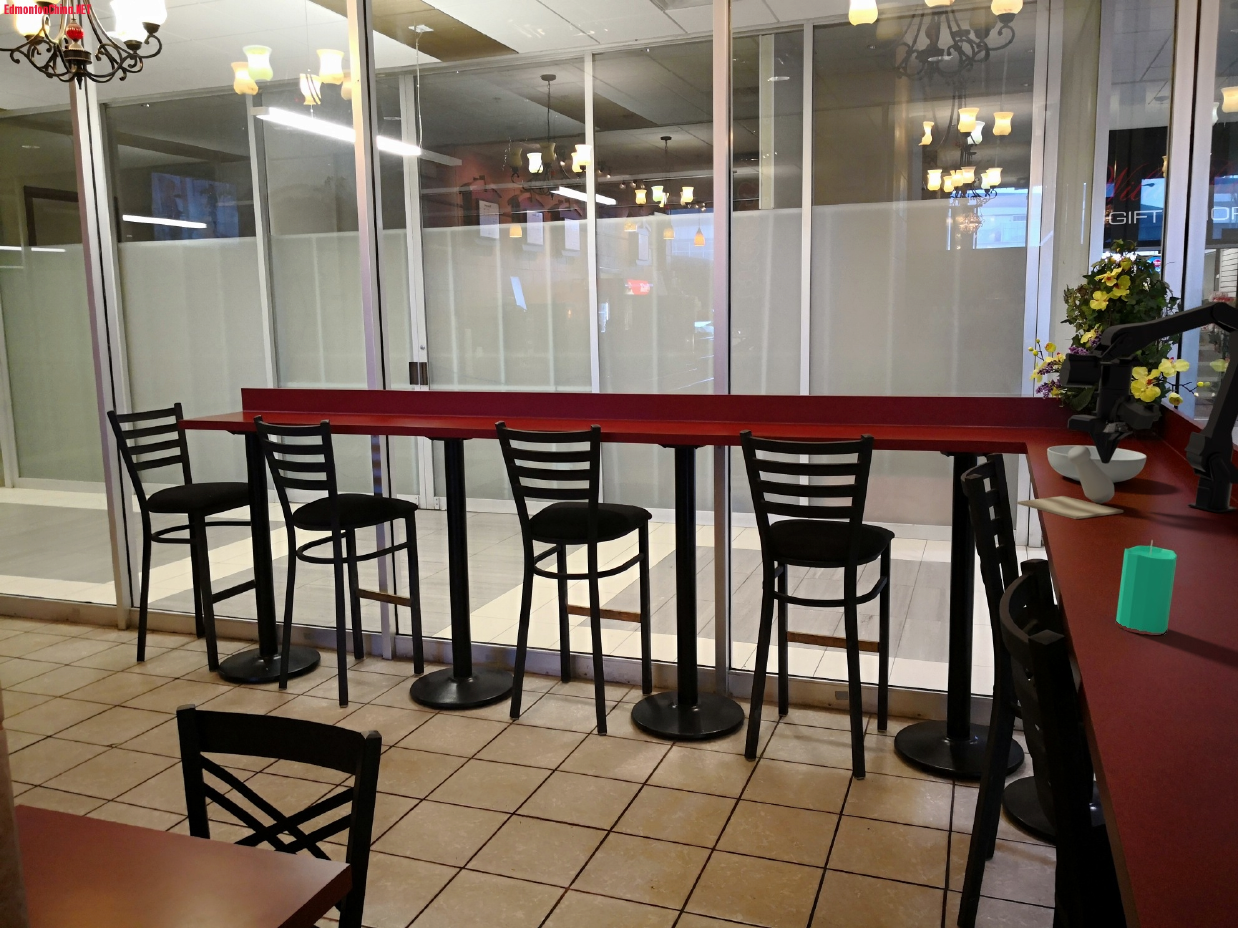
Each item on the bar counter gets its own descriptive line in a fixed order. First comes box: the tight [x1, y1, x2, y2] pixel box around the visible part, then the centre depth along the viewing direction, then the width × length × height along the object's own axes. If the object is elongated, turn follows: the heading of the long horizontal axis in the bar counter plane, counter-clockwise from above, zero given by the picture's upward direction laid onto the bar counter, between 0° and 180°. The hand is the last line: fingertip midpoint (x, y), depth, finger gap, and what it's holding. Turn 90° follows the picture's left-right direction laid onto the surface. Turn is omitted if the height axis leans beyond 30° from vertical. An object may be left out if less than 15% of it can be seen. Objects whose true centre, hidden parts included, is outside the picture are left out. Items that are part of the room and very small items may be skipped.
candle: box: [1115, 539, 1178, 633], centre depth 127 cm, size 6×6×12 cm
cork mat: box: [1016, 495, 1124, 520], centre depth 197 cm, size 14×14×1 cm
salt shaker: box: [1067, 445, 1115, 505], centre depth 199 cm, size 6×6×13 cm
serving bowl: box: [1046, 445, 1147, 484], centre depth 226 cm, size 21×21×7 cm
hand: (1105, 463), depth 200 cm, fingers closed
